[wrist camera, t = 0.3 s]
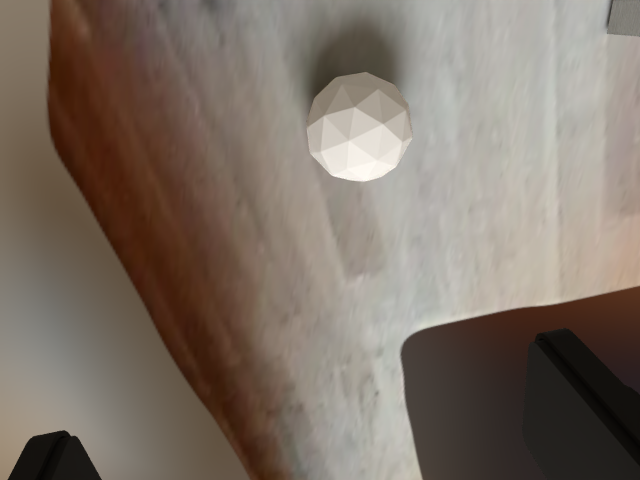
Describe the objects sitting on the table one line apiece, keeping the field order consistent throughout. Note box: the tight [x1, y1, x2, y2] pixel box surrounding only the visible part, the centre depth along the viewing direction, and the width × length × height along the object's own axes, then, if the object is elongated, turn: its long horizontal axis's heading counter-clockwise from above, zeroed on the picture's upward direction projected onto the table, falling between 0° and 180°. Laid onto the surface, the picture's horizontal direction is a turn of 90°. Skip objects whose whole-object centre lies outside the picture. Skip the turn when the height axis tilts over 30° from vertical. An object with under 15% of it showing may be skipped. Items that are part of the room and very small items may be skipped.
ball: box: [306, 72, 413, 181], centre depth 34 cm, size 8×8×8 cm
